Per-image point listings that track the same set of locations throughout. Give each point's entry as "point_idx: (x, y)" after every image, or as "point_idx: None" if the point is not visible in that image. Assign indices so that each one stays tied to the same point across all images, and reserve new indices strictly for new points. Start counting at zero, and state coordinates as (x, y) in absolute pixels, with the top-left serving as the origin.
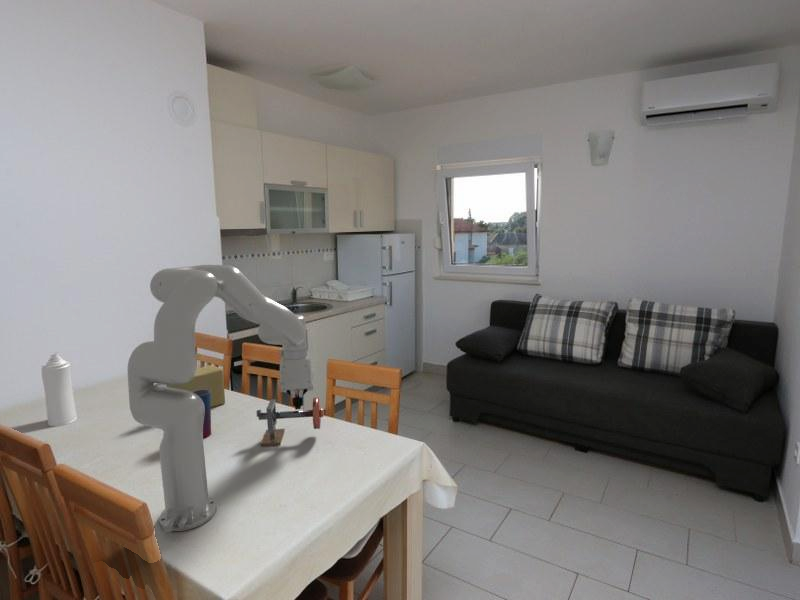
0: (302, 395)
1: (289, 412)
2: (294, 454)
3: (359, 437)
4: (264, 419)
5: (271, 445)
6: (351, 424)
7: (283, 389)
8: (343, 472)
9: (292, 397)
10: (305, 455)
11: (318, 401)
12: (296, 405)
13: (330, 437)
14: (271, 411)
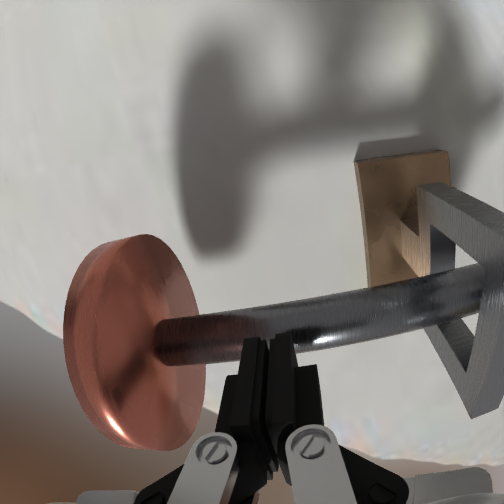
0: (191, 452)
1: (346, 322)
2: (242, 68)
3: (35, 262)
4: None
5: (396, 156)
6: None
7: (475, 499)
8: (23, 7)
9: (321, 429)
10: (182, 67)
11: (72, 383)
12: (275, 359)
13: None
14: (496, 233)
